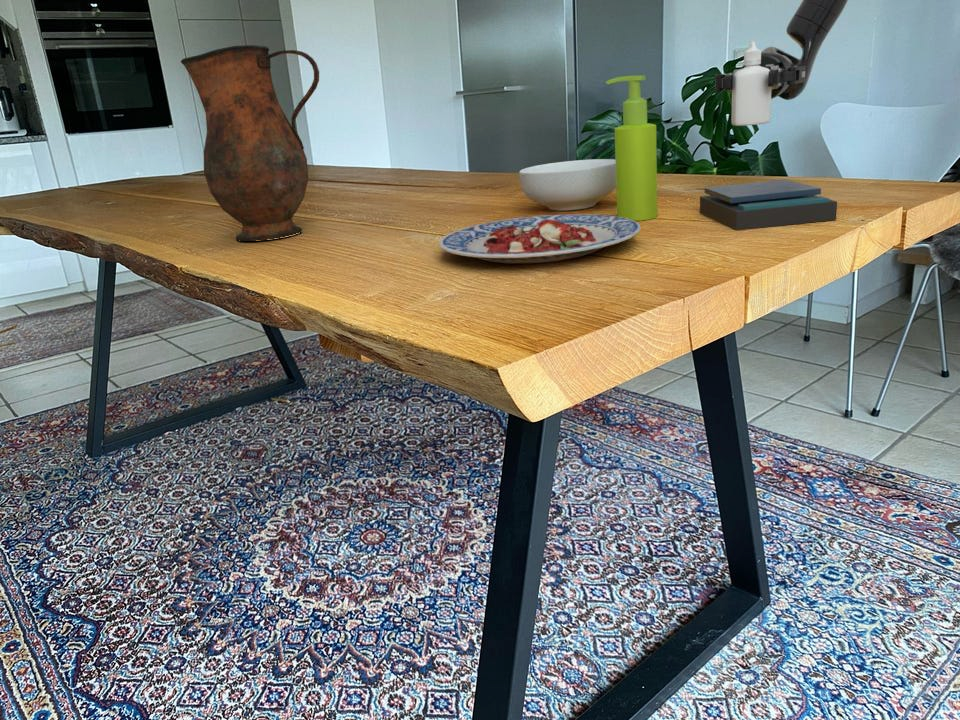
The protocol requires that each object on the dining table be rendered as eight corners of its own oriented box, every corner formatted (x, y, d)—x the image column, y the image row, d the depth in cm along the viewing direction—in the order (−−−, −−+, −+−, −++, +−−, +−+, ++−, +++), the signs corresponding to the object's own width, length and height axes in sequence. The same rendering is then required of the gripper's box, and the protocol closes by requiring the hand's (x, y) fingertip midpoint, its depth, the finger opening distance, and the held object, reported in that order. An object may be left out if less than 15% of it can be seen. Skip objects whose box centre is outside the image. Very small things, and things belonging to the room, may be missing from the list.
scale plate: (785, 184, 108) (786, 179, 107) (821, 194, 97) (821, 188, 97) (704, 193, 108) (704, 187, 107) (730, 203, 97) (731, 197, 97)
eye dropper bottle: (734, 124, 118) (735, 43, 114) (771, 121, 115) (774, 39, 111) (729, 127, 114) (731, 43, 110) (767, 124, 112) (770, 38, 108)
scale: (786, 204, 109) (787, 184, 108) (836, 220, 95) (837, 197, 94) (699, 212, 109) (699, 193, 108) (736, 230, 95) (736, 207, 94)
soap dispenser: (616, 214, 115) (612, 77, 108) (661, 213, 111) (660, 72, 105) (605, 221, 110) (600, 78, 103) (651, 220, 107) (649, 73, 100)
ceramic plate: (424, 246, 105) (422, 225, 104) (593, 222, 110) (592, 202, 109) (466, 285, 81) (463, 258, 80) (678, 252, 86) (678, 227, 85)
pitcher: (231, 233, 134) (193, 56, 124) (348, 221, 135) (320, 44, 125) (206, 251, 118) (161, 50, 108) (339, 237, 119) (307, 36, 109)
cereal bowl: (610, 195, 134) (608, 155, 131) (632, 208, 118) (631, 163, 116) (517, 205, 133) (514, 165, 131) (527, 219, 118) (524, 174, 115)
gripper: (811, 96, 122) (799, 103, 108) (722, 103, 129) (699, 111, 115) (813, 47, 119) (801, 48, 106) (722, 57, 126) (700, 59, 113)
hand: (748, 80), depth 111 cm, fingers closed on eye dropper bottle, 5 cm apart
